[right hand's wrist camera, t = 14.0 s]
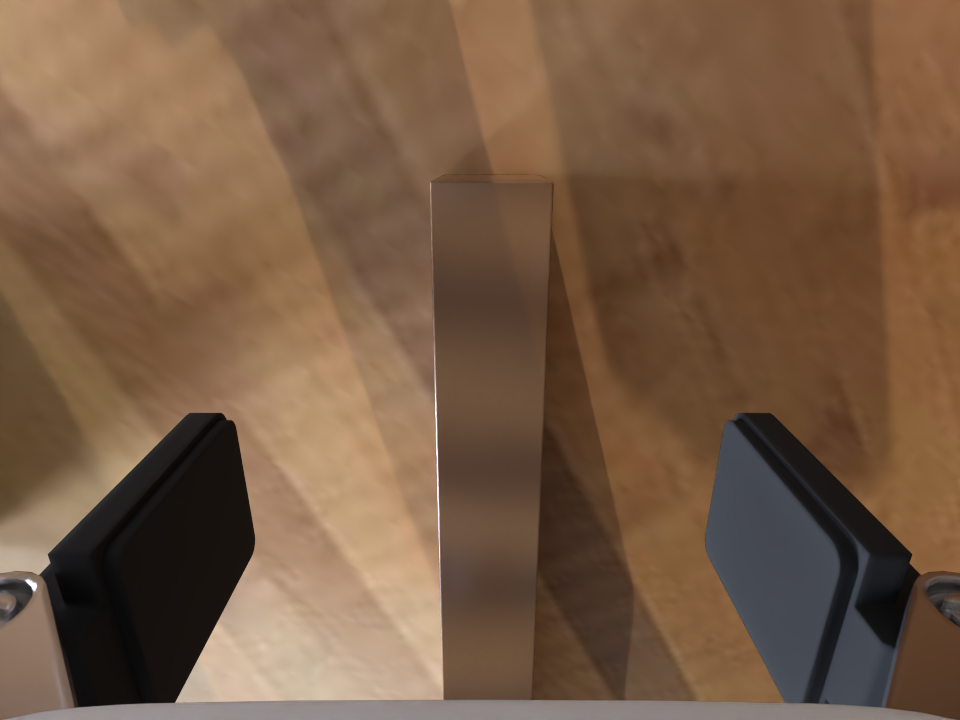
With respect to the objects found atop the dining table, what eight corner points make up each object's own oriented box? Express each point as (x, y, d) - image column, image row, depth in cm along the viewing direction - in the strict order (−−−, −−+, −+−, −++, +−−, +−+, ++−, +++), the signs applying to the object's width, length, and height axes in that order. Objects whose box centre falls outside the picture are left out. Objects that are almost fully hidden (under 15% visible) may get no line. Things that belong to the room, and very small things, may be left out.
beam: (442, 174, 28) (429, 181, 22) (540, 174, 28) (553, 181, 22) (455, 894, 46) (450, 1007, 40) (515, 896, 46) (519, 1009, 40)
